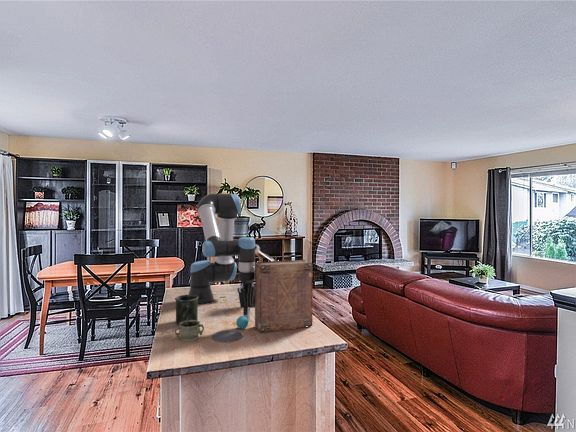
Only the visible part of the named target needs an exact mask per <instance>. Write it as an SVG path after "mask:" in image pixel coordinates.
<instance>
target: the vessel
mask: <svg viewBox="0 0 576 432" xmlns="http://www.w3.org/2000/svg"><path fill="white" fill-rule="evenodd" d="M200 327H201V328H202V330H201V329H200ZM177 330H179V331H178V332H177ZM204 331H205V326H204V325H203V324H202V323H201V322H200V321H199V320H187V321H183V322H181V323H179V326H175V329H174V334H175V335H176V337H175V338H178V339H179V338H180V340H181V341H184V342H192V341H196V340H198V339H199V338H200V336H202V335H203V332H204Z"/></svg>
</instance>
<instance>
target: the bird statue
mask: <svg viewBox="0 0 576 432" xmlns="http://www.w3.org/2000/svg"><path fill="white" fill-rule="evenodd" d="M255 257H258V261H257V262H264V258H265V259H267V260H269V262H273V261H276V260H275V259H274V258H273V257H271V256H270V255H269V254H266V253H263V252H262V251H261V247H260V246H259V244H257V243H255ZM251 305H252V307H254V306H255V290H254V299H253V304H251Z"/></svg>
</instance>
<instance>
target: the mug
mask: <svg viewBox="0 0 576 432" xmlns="http://www.w3.org/2000/svg"><path fill="white" fill-rule="evenodd" d="M198 298H199V297H198V296H197V295H188V294H182V295H178V296H176V297H175V298H174V300H175V323H176V325H179V323H181V322H183V321H187V320H197V321H199V320H198V317H199V316H198V315H199V313H198V308H199V307H198V306H199V304H198Z"/></svg>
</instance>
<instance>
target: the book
mask: <svg viewBox="0 0 576 432" xmlns="http://www.w3.org/2000/svg"><path fill="white" fill-rule="evenodd" d="M313 265H314V264H313V263H312V262H306V261H305V259H299V260H298V259H296V260H279V261H278V260H275V261H273V262H271V261H262V262H258V261H255V270H254V272H255V279H254V283H255V307H254V327H255V328H256V329H257V330H258V331H259V333H260V334H261V333H272V332H279V331H285V330H286V331H288V330H295V329H294V328H296V329H302V328H301V327H304V328H307V327H306V326H312V327H313V293H314V291H313V287H314V286H313V274H314V271H313V269H314V266H313Z"/></svg>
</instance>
